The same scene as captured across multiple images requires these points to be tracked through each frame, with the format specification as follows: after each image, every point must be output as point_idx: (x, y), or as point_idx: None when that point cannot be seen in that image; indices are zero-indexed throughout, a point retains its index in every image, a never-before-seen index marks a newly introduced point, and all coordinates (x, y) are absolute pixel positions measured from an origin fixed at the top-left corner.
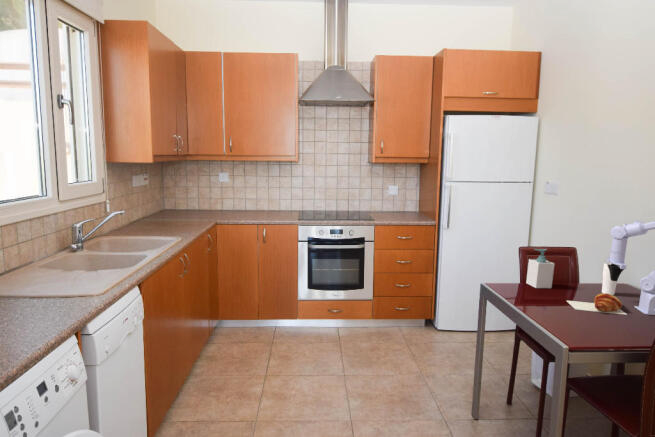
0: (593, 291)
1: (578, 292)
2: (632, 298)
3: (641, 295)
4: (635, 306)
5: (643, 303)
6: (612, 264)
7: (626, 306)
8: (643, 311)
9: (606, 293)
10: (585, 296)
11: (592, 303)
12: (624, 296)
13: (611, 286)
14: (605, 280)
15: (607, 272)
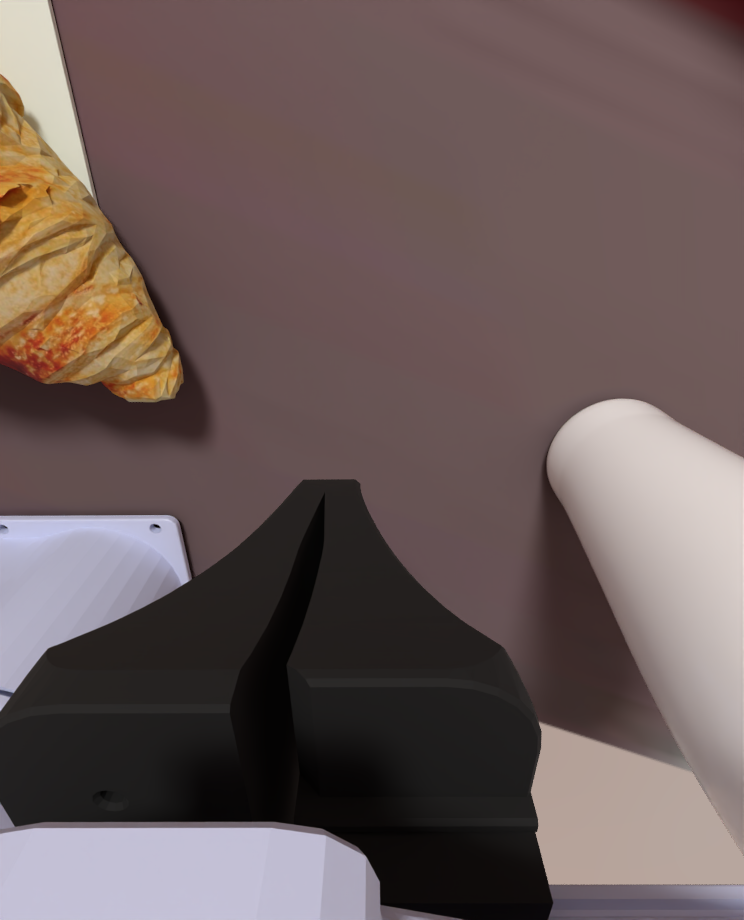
0: (690, 318)
1: (616, 36)
2: (489, 609)
3: (2, 629)
4: (164, 525)
5: (10, 579)
6: (436, 849)
7: (173, 457)
8: (22, 529)
9: (565, 425)
10: (414, 78)
11: (30, 30)
12: (540, 571)
13: (579, 507)
14: (665, 478)
15: (739, 580)
